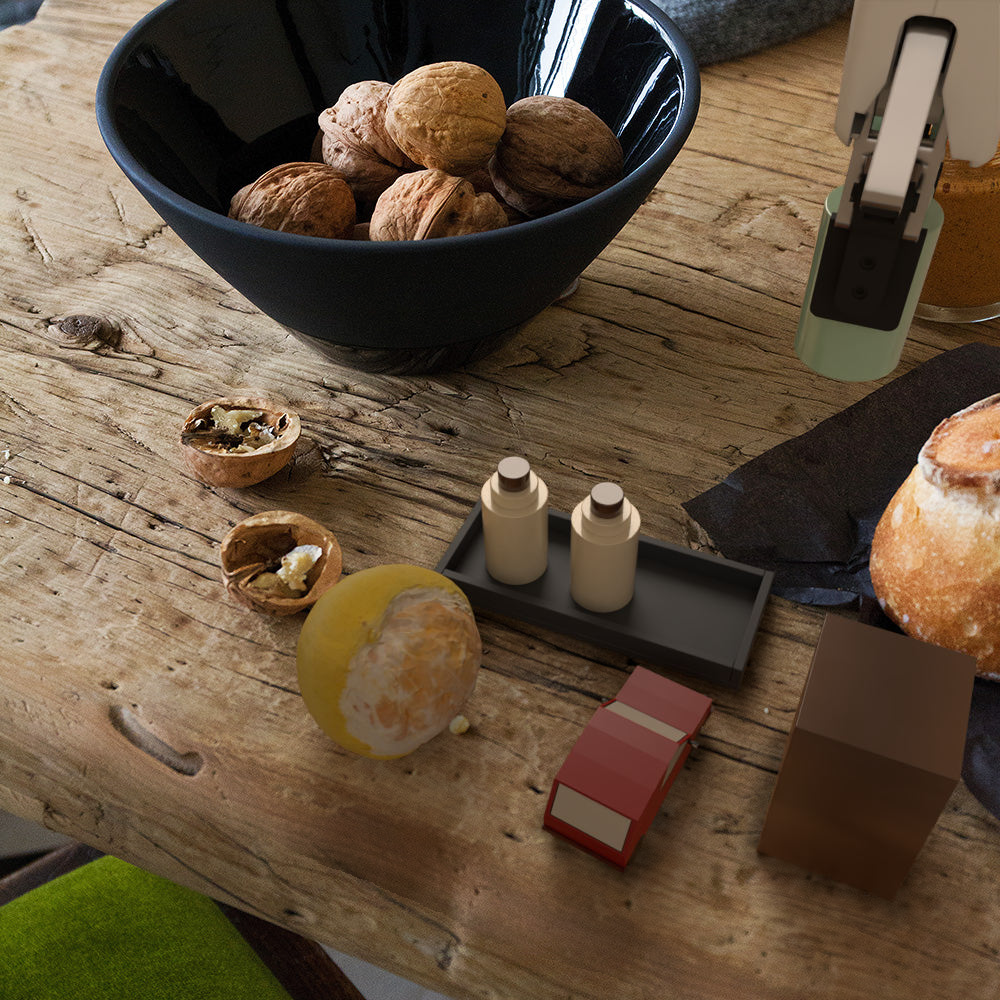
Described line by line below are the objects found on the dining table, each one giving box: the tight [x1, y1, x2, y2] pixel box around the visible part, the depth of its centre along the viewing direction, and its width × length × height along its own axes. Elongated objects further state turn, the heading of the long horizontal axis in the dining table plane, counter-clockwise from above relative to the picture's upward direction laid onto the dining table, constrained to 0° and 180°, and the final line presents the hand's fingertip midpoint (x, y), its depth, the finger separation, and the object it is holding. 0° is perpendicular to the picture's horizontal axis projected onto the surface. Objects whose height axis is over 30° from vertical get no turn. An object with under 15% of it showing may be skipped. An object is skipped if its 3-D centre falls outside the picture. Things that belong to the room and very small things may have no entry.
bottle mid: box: [569, 481, 642, 613], centre depth 64 cm, size 4×4×9 cm
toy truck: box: [541, 665, 716, 874], centre depth 56 cm, size 6×12×5 cm, turn 149°
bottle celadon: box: [792, 156, 945, 383], centre depth 39 cm, size 4×4×9 cm
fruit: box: [295, 563, 483, 761], centre depth 58 cm, size 10×11×10 cm
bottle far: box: [480, 456, 549, 585], centre depth 65 cm, size 4×4×9 cm
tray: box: [433, 496, 776, 692], centre depth 66 cm, size 20×8×2 cm, turn 66°
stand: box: [755, 612, 978, 902], centre depth 51 cm, size 7×7×12 cm
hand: (864, 280), depth 40 cm, fingers closed on bottle celadon, 4 cm apart
